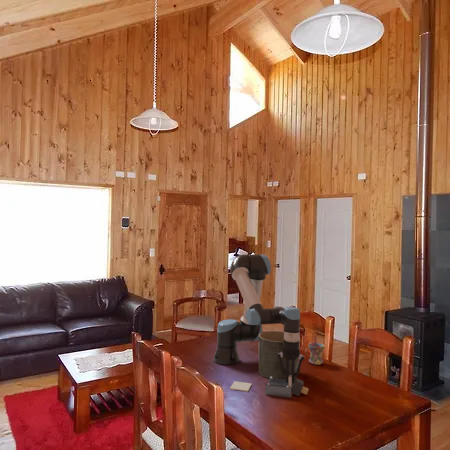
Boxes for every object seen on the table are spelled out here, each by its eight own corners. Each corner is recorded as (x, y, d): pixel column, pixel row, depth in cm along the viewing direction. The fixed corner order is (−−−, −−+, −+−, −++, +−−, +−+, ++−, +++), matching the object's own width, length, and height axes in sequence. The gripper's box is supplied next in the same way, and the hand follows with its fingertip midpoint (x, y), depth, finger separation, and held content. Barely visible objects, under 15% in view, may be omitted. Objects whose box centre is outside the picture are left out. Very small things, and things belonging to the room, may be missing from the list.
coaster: (229, 389, 191) (229, 388, 191) (234, 382, 200) (234, 381, 200) (248, 391, 189) (248, 390, 189) (251, 384, 198) (251, 383, 198)
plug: (291, 392, 186) (295, 381, 186) (291, 389, 190) (295, 378, 189) (305, 399, 184) (309, 387, 184) (305, 395, 188) (309, 384, 188)
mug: (318, 359, 238) (319, 342, 238) (327, 365, 229) (327, 346, 230) (301, 361, 234) (301, 343, 235) (309, 366, 226) (309, 348, 226)
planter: (303, 370, 220) (304, 334, 220) (292, 384, 200) (293, 344, 200) (265, 363, 229) (266, 329, 230) (251, 376, 209) (252, 338, 209)
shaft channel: (265, 394, 186) (265, 383, 186) (268, 386, 196) (269, 376, 196) (290, 398, 183) (291, 387, 183) (293, 389, 193) (293, 379, 193)
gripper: (276, 340, 186) (275, 390, 186) (304, 343, 183) (303, 394, 182) (278, 336, 194) (277, 385, 193) (305, 339, 190) (304, 388, 190)
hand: (290, 389), depth 188 cm, fingers closed
